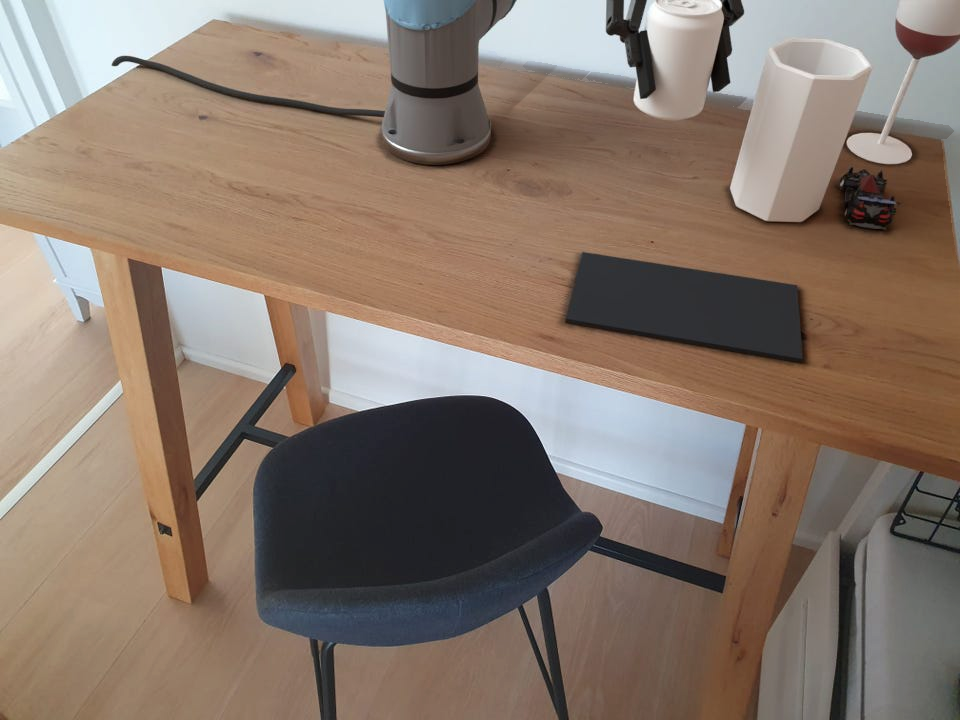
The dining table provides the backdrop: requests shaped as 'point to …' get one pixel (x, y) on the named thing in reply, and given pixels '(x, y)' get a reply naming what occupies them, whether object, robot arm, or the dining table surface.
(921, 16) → the wineglass
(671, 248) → the dining table surface
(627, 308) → the place mat
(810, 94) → the cup
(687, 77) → the beverage can
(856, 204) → the toy car
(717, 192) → the dining table surface
